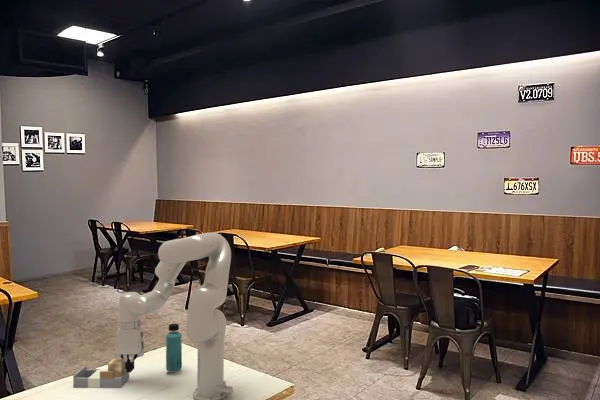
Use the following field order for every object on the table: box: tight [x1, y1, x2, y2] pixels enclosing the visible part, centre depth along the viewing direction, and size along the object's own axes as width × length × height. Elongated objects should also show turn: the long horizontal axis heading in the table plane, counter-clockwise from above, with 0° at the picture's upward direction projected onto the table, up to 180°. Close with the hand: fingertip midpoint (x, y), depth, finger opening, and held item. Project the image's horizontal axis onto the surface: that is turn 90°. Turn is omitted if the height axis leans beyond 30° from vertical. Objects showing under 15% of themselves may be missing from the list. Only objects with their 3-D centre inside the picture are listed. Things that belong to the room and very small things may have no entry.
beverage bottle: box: [165, 323, 183, 373], centre depth 192 cm, size 6×7×20 cm
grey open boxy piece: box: [72, 364, 130, 389], centre depth 181 cm, size 18×9×6 cm, turn 91°
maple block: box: [107, 358, 126, 377], centre depth 181 cm, size 5×5×5 cm
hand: (129, 370), depth 181 cm, fingers closed
